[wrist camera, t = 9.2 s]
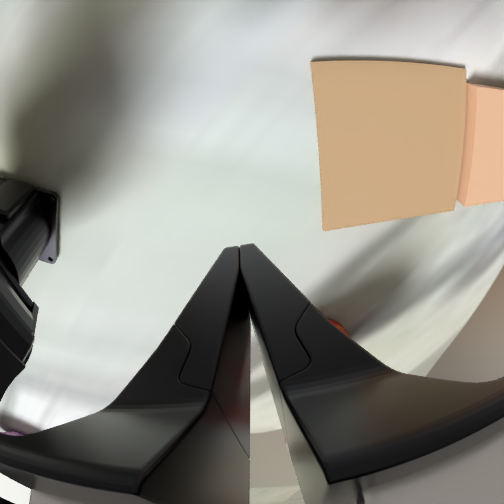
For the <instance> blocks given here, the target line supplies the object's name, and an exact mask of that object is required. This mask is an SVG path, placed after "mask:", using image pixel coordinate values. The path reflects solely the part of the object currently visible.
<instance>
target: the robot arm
mask: <svg viewBox="0 0 504 504" xmlns="http://www.w3.org/2000/svg"><path fill="white" fill-rule="evenodd" d="M51 197H52V198H53V199H54V201H53V200H52V199H51ZM58 211H59V196H58V194H57V193H55V192H53V191H49V190H45V189H42V188H38V187H35V186H34V185H32V184H28V183H24V182H21V181H17V180H13V179H5V178H1V177H0V401H1V399H2V397H3V395H4V393H5V391H6V389H7V388H8V386H9V385H10V384H11V382H12V381H13V380H14V378H15V377H16V376H17V375H18V374H19V373H20V372H21V371H22V370H23V369H24V368H25V364H26V363H27V361H28V359H29V357H30V354H31V352H32V347H33V343H34V333H35V327H36V321H37V315H38V309H39V307H38V306H37V305H36V304H35V302H32V300H31V299H30V298H29V296H28V295H27V294H26V292H25V291H24V290H23V288H22V285H23V283H24V282H25V280H26V278H27V277H28V275H29V274H30V272H31V270H32V269H33V267H34V266H35V264H36V263H37V261H38V260H41V261H44V262H47V263H50V264H54V263H55V262H56V260H57V239H58ZM51 257H52V258H53V259H52V258H51ZM250 316H251V321H252V325H253V329H254V332H255V336H256V339H257V343H258V346H259V350H260V353H261V357H262V360H263V364H264V367H265V371H266V374H267V378H268V381H269V385H270V388H271V392H272V395H273V398H274V402H275V405H276V409H277V412H278V416H279V419H280V422H281V426H282V429H283V432H284V436H285V439H286V442H287V446H288V449H289V452H290V455H291V459H292V462H293V466H294V469H295V472H296V475H297V478H298V481H299V485H300V488H301V491H302V495H303V498H304V501H305V504H504V377H502V378H499V379H497V380H493V381H489V382H479V383H474V382H460V381H452V380H445V379H437V378H430V377H423V376H417V375H410V374H405V373H401V372H398V371H396V370H394V369H391V368H390V367H388V366H386V365H385V364H383V363H382V362H381V361H379V360H378V359H377V358H375V357H374V356H373V355H371V354H370V353H369V352H368V351H366V350H365V349H364V348H362V347H361V346H360V345H359V344H357V343H356V342H355V341H353V340H352V339H351V338H350V337H348V336H347V335H346V334H344V333H343V332H342V331H341V330H340V329H338V328H337V327H336V326H335V325H334V324H332V323H331V322H330V321H329V320H328V319H327V318H326V317H325V316H324V315H323V314H322V313H321V312H320V311H319V310H318V309H317V308H316V307H315V306H314V305H313V304H311V302H310V301H309V300H308V299H307V298H306V297H305V296H304V295H303V294H302V293H301V292H300V291H299V290H298V289H297V288H296V286H295V285H294V284H293V283H292V282H291V281H290V280H289V279H288V278H287V277H286V276H285V275H284V274H283V273H282V272H281V271H280V270H279V269H278V268H277V267H276V266H275V265H274V264H273V263H272V262H271V261H270V260H269V259H268V258H267V257H266V256H265V255H264V254H263V252H262V251H261V250H260V249H259V248H258V247H257V246H256V245H255V244H253V243H251V244H245V245H241V246H240V248H239V247H238V246H233V247H227V248H225V249H224V250H223V251H222V253H221V254H220V256H219V257H218V259H217V260H216V261H215V263H214V264H213V266H212V267H211V269H210V270H209V272H208V273H207V275H206V276H205V278H204V279H203V281H202V282H201V284H200V285H199V287H198V288H197V290H196V291H195V293H194V294H193V296H192V297H191V299H190V300H189V302H188V303H187V305H186V306H185V308H184V309H183V311H182V312H181V314H180V315H179V317H178V318H177V320H176V321H175V325H173V326H172V327H171V329H170V330H169V332H168V333H167V335H166V336H165V338H164V339H163V340H162V342H161V343H160V345H159V346H158V348H157V349H156V350H155V351H154V353H153V354H152V355H151V357H150V358H149V359H148V360H147V362H146V363H145V364H144V365H143V367H142V368H141V369H140V370H139V371H138V373H137V374H136V375H135V376H134V377H133V379H132V380H131V381H130V382H129V383H128V385H127V386H126V387H125V388H124V389H123V391H122V392H121V393H120V394H119V396H118V397H117V398H116V399H115V400H114V401H113V402H112V403H111V404H110V405H108V406H107V407H106V408H104V409H102V410H101V411H99V412H96V413H94V414H91V415H88V416H86V417H83V418H80V419H77V420H74V421H71V422H68V423H65V424H62V425H59V426H56V427H53V428H50V429H47V430H43V431H40V432H37V433H33V434H28V435H21V436H13V435H7V434H4V433H0V473H2V474H3V475H5V476H7V477H9V478H11V479H13V480H15V481H17V482H18V483H20V484H22V485H24V486H26V487H28V488H30V489H31V495H30V502H29V504H249V492H250V486H249V485H250V480H249V479H250V460H249V458H250V343H251V322H250ZM0 504H14V503H12V502H10V501H7V500H5V499H3V498H1V497H0Z"/></svg>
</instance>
